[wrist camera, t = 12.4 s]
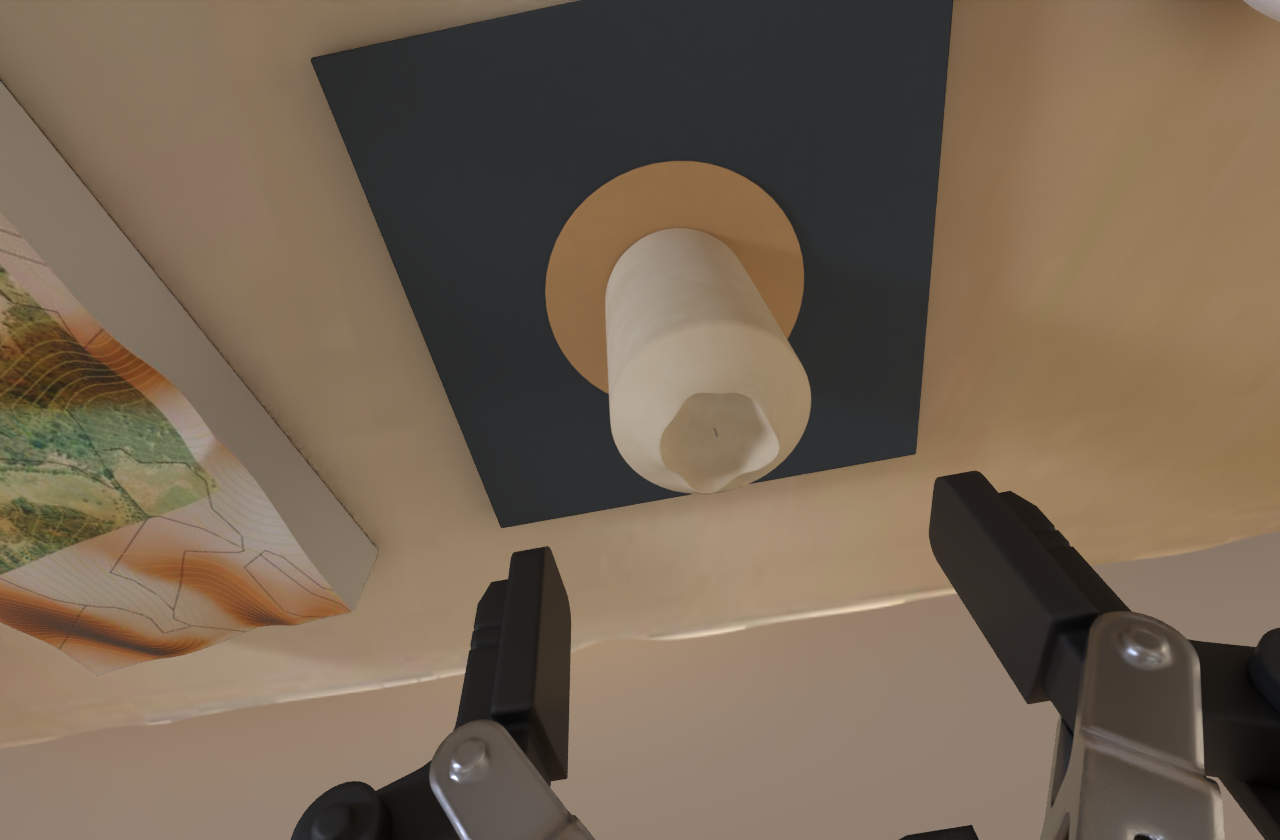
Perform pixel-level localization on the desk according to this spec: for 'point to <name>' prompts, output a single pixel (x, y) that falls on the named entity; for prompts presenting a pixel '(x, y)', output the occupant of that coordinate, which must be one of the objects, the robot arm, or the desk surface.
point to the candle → (698, 367)
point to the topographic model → (138, 449)
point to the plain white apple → (1266, 7)
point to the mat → (654, 209)
